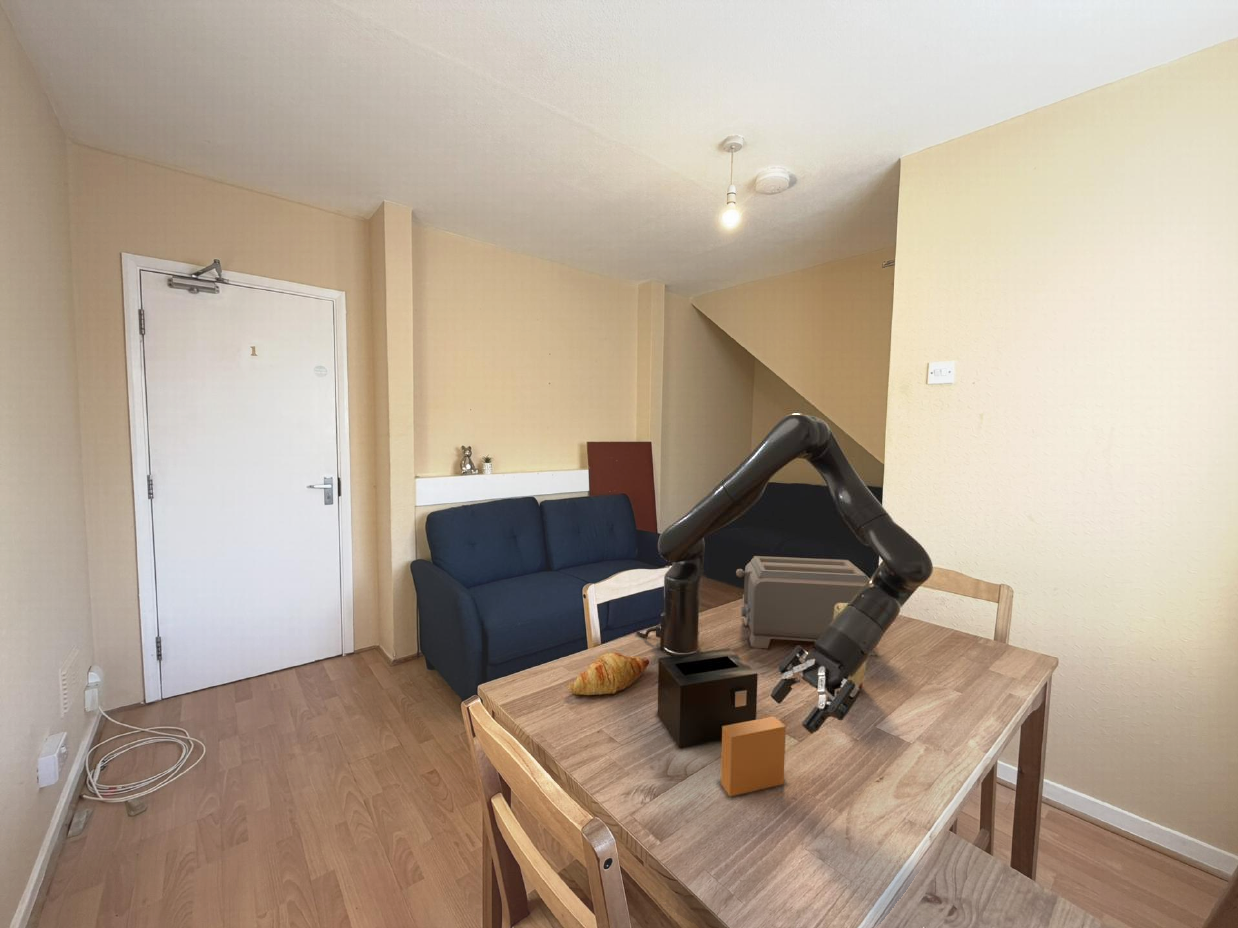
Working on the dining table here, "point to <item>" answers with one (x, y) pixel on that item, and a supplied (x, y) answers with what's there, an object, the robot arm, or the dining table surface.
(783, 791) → the dining table surface
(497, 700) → the dining table surface
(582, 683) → the croissant
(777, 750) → the orange slab
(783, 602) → the toaster
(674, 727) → the slot toaster
